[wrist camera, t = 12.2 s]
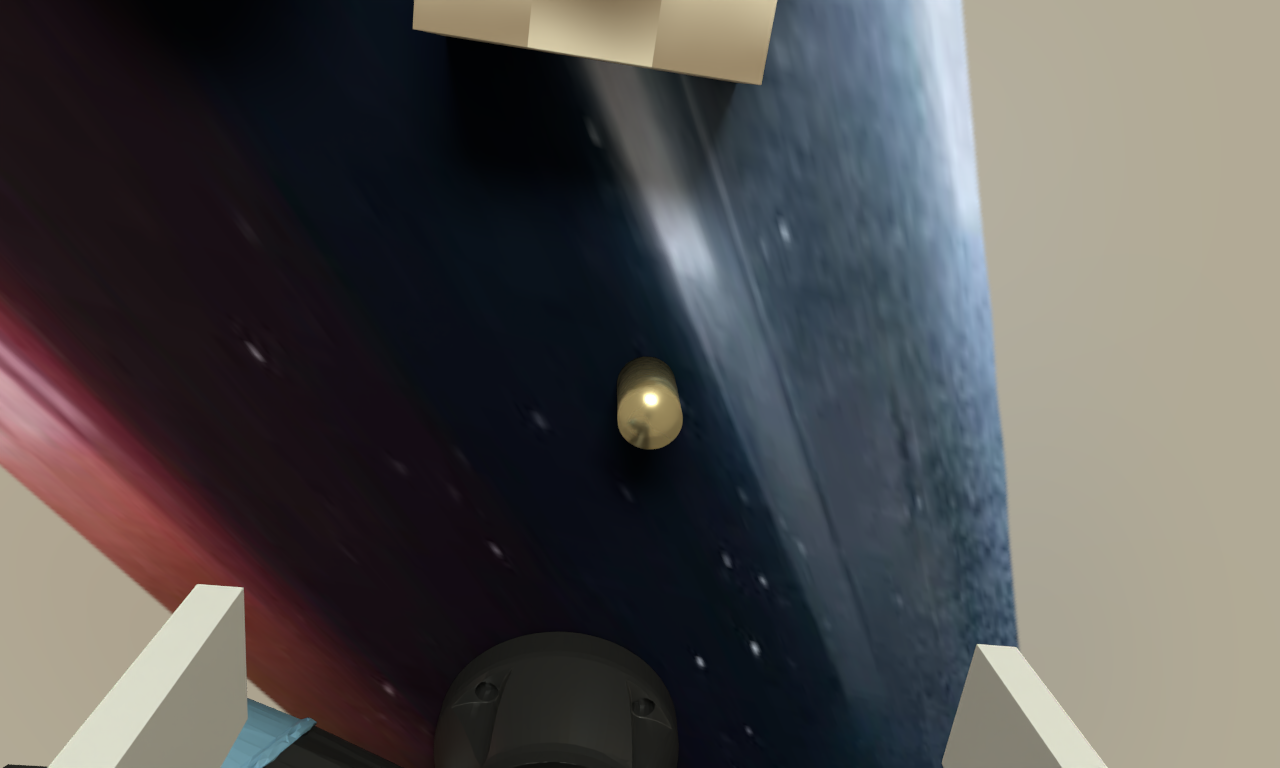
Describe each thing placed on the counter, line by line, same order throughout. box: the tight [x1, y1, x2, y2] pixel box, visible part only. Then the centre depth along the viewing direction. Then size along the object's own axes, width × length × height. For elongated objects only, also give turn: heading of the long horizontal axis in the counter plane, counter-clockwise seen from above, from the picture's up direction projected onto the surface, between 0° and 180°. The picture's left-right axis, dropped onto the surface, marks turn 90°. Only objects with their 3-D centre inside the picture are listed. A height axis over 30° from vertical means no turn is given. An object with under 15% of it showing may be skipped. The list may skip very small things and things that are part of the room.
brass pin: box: [617, 357, 683, 449], centre depth 44 cm, size 3×3×5 cm
